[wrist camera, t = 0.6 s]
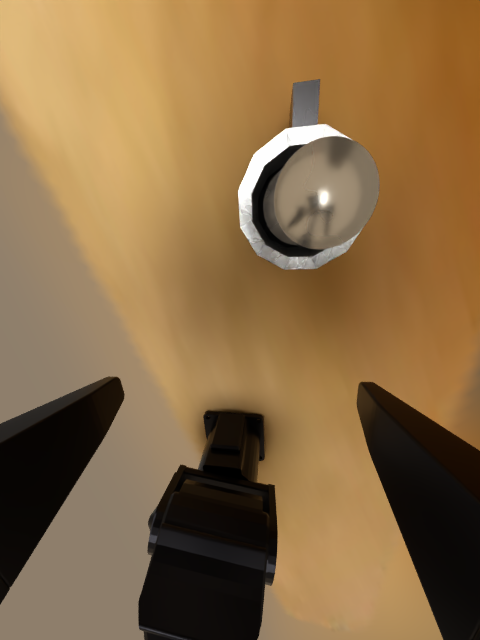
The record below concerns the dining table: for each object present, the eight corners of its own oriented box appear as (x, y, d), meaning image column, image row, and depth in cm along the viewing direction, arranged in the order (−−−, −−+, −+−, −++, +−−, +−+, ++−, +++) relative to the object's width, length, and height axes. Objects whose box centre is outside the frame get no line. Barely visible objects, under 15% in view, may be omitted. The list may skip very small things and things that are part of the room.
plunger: (336, 242, 14) (392, 270, 7) (264, 245, 15) (252, 274, 8) (344, 158, 13) (426, 89, 6) (263, 165, 13) (245, 112, 6)
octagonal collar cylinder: (347, 260, 19) (371, 277, 14) (244, 264, 20) (233, 280, 15) (364, 111, 15) (404, 62, 10) (237, 126, 16) (220, 89, 12)
